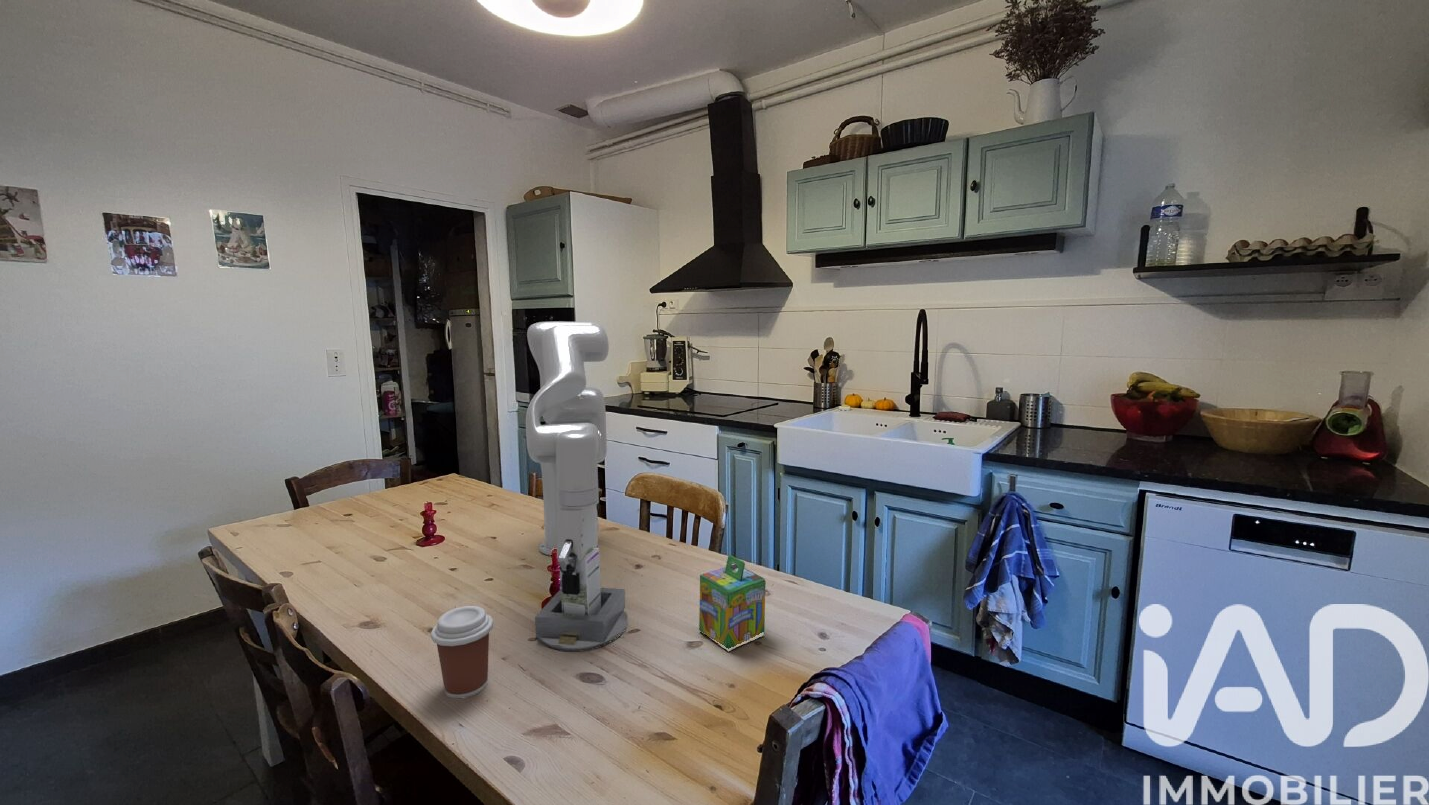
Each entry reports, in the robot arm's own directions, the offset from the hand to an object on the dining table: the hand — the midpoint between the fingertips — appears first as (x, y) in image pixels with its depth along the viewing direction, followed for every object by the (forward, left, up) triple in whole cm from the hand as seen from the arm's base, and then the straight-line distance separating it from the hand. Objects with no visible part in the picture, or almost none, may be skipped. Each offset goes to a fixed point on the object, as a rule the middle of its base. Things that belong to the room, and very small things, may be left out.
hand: (581, 581), depth 108 cm
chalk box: (-1, +29, -9) cm, 31 cm away
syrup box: (+1, 0, -8) cm, 8 cm away
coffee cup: (+20, -12, -9) cm, 25 cm away
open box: (0, 0, -9) cm, 9 cm away
